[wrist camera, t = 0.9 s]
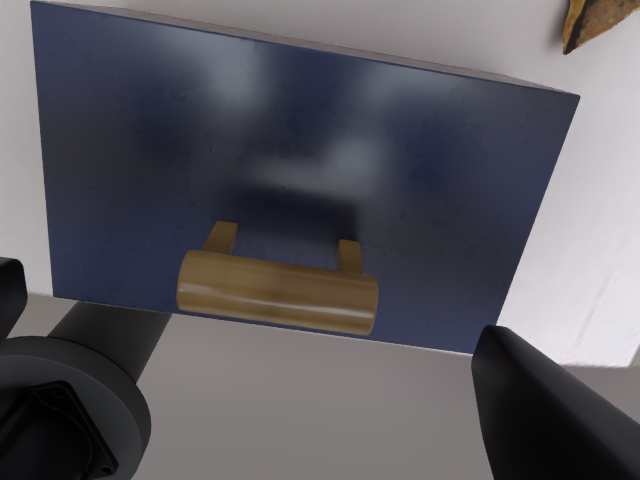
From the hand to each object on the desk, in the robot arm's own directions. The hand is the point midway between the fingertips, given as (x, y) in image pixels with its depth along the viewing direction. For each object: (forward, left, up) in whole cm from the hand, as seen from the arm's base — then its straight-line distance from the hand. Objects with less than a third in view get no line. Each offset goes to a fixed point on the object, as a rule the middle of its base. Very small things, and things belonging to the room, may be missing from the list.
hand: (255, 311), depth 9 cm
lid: (0, 0, -7) cm, 7 cm away
